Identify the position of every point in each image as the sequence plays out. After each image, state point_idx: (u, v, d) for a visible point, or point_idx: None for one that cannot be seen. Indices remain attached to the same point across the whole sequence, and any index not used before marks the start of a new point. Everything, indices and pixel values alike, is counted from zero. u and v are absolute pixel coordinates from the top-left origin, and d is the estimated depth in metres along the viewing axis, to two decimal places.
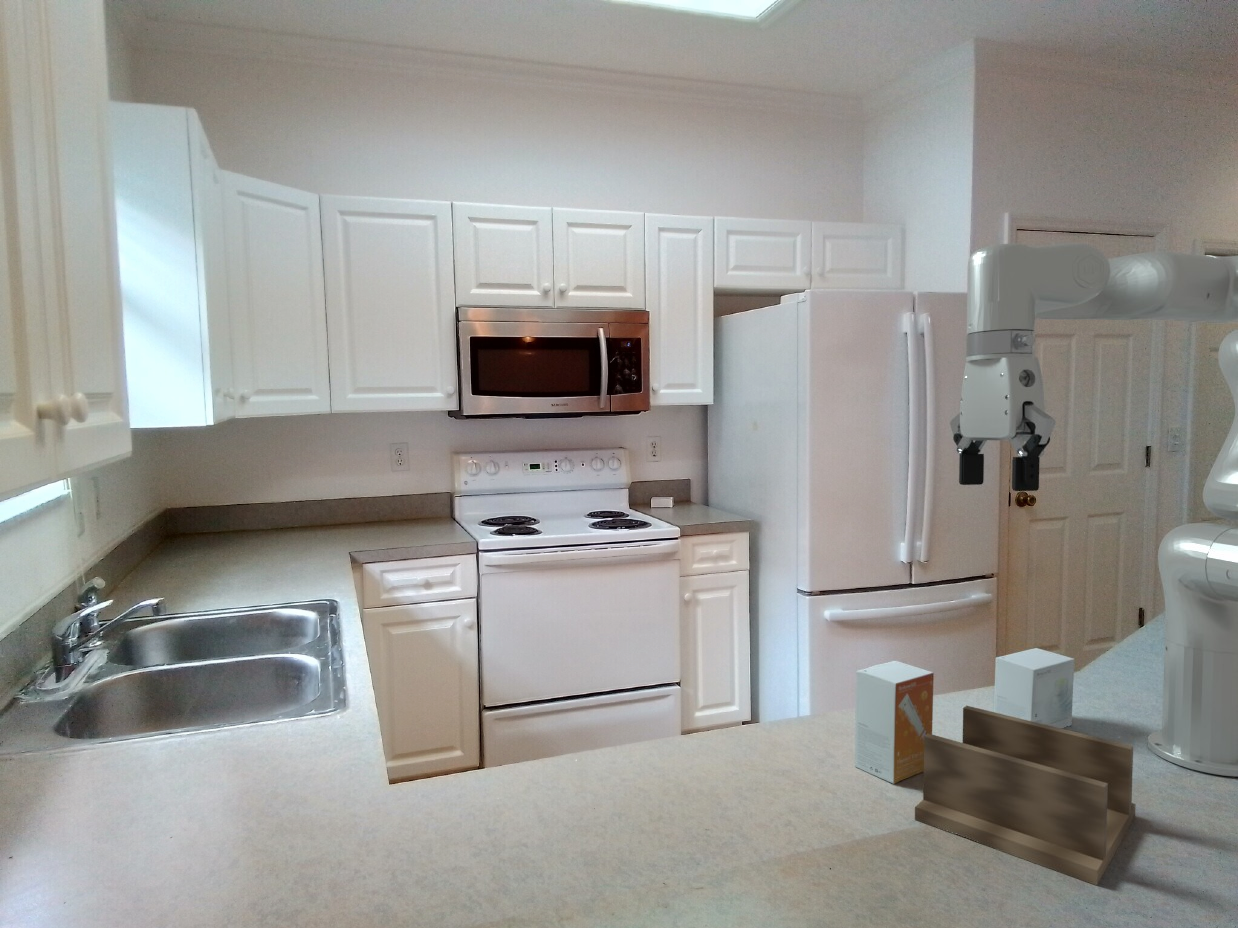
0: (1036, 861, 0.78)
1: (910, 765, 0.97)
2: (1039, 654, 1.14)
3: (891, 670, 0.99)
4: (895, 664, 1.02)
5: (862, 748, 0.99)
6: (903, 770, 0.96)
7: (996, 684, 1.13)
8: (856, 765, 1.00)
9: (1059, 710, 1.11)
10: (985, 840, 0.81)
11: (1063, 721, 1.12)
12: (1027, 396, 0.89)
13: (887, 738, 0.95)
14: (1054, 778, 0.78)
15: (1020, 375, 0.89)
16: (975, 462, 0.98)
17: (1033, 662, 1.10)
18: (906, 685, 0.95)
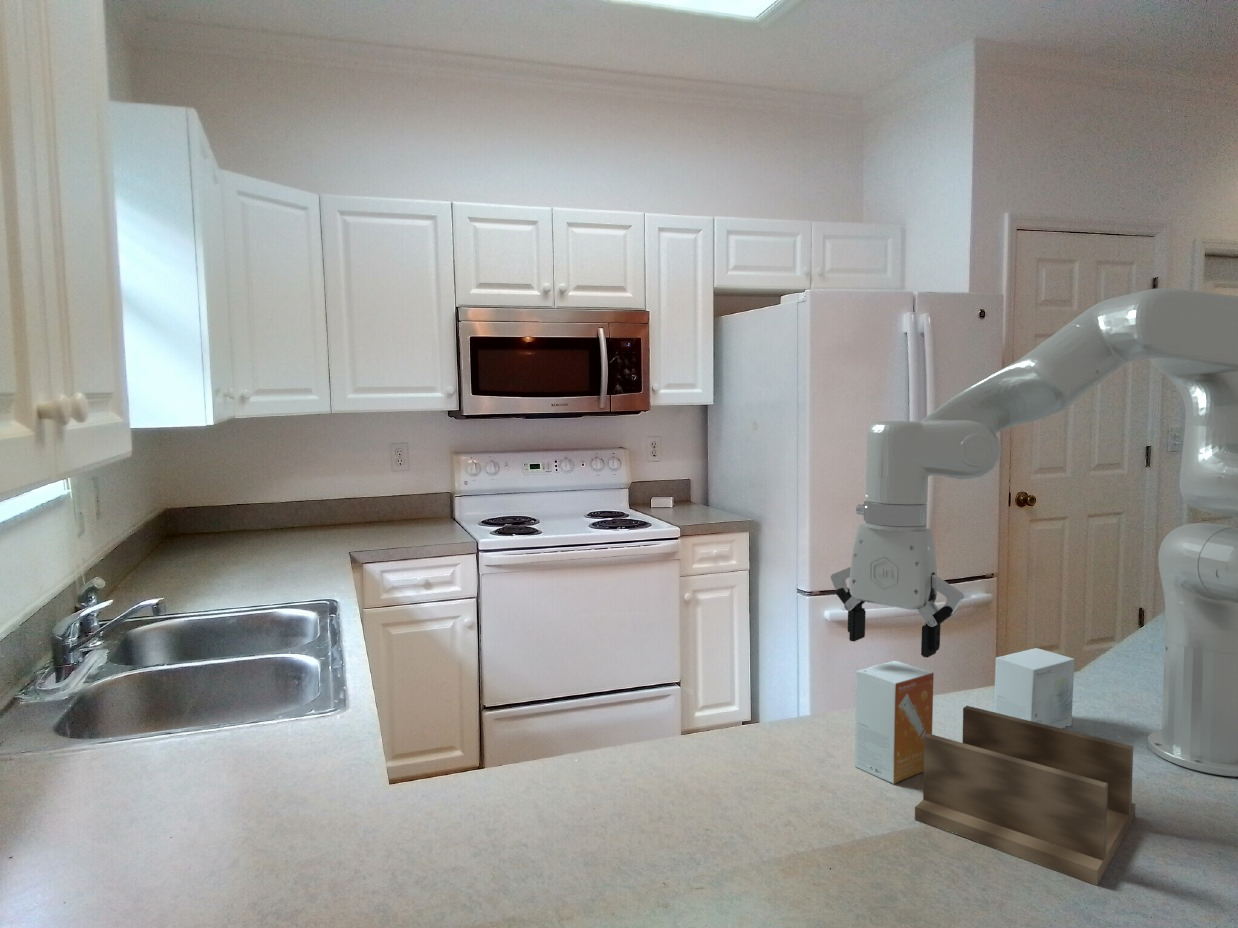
0: (1036, 861, 0.78)
1: (910, 765, 0.97)
2: (1039, 654, 1.14)
3: (891, 670, 0.99)
4: (895, 664, 1.02)
5: (862, 748, 0.99)
6: (903, 770, 0.96)
7: (996, 684, 1.13)
8: (856, 765, 1.00)
9: (1059, 710, 1.11)
10: (985, 840, 0.81)
11: (1063, 721, 1.12)
12: None
13: (887, 738, 0.95)
14: (1054, 778, 0.78)
15: None
16: None
17: (1033, 662, 1.10)
18: (906, 685, 0.95)
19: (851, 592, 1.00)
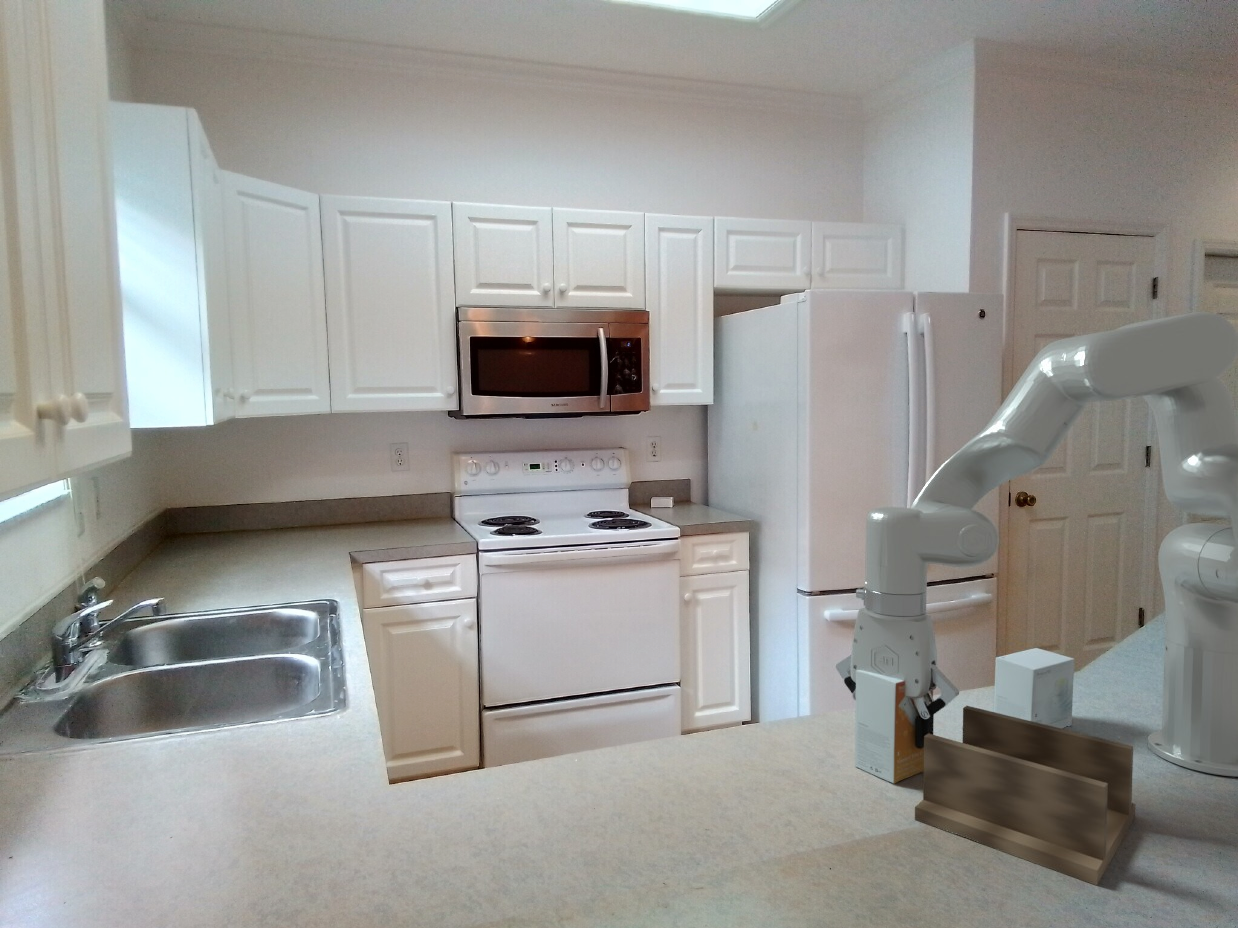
0: (1036, 861, 0.78)
1: (910, 765, 0.97)
2: (1039, 654, 1.14)
3: None
4: None
5: (862, 748, 0.99)
6: (903, 770, 0.96)
7: (996, 684, 1.13)
8: (856, 765, 1.00)
9: (1059, 710, 1.11)
10: (985, 840, 0.81)
11: (1063, 721, 1.12)
12: None
13: (887, 738, 0.95)
14: (1054, 778, 0.78)
15: None
16: None
17: (1033, 662, 1.10)
18: None
19: (852, 677, 1.00)
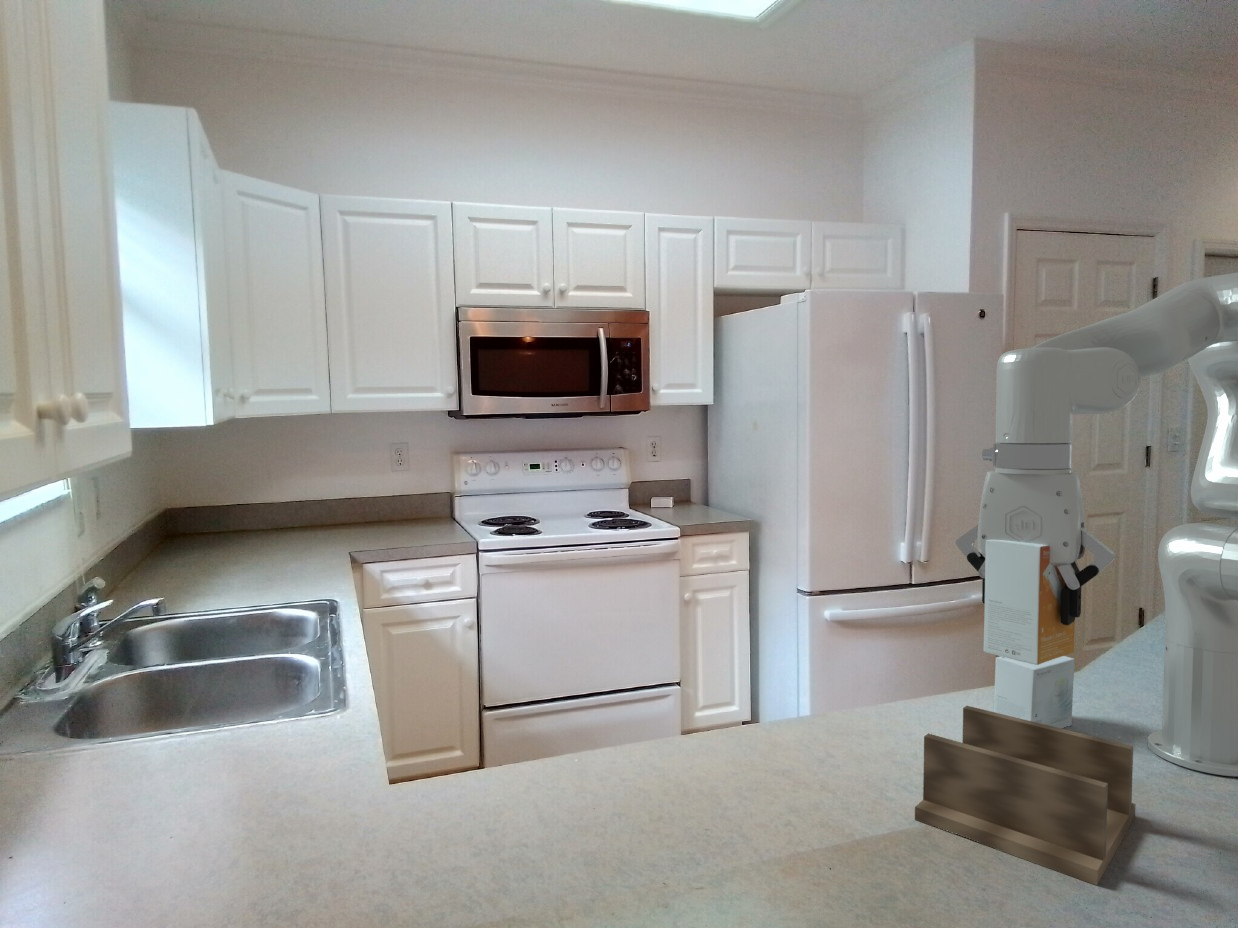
0: (1036, 861, 0.78)
1: (1054, 646, 0.83)
2: None
3: None
4: None
5: (994, 629, 0.85)
6: (1047, 650, 0.82)
7: (996, 684, 1.13)
8: (985, 650, 0.86)
9: (1059, 710, 1.11)
10: (985, 840, 0.81)
11: (1063, 721, 1.12)
12: None
13: (1029, 613, 0.82)
14: (1054, 778, 0.78)
15: None
16: None
17: None
18: None
19: (980, 549, 0.86)
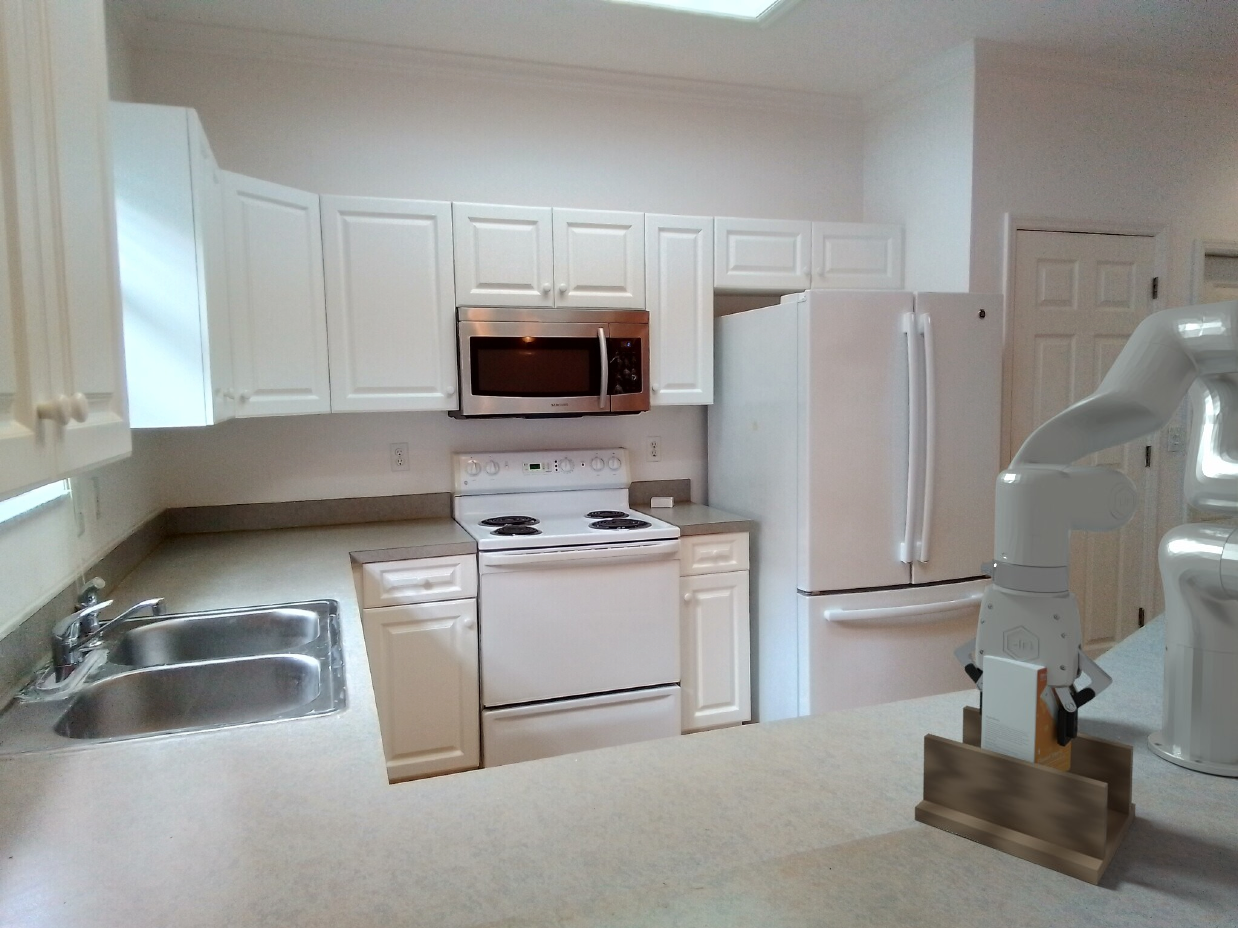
0: (1036, 861, 0.78)
1: (1050, 765, 0.83)
2: None
3: None
4: None
5: (991, 745, 0.85)
6: None
7: None
8: None
9: None
10: (985, 840, 0.81)
11: None
12: None
13: (1025, 734, 0.82)
14: (1054, 778, 0.78)
15: None
16: None
17: None
18: None
19: (978, 664, 0.87)
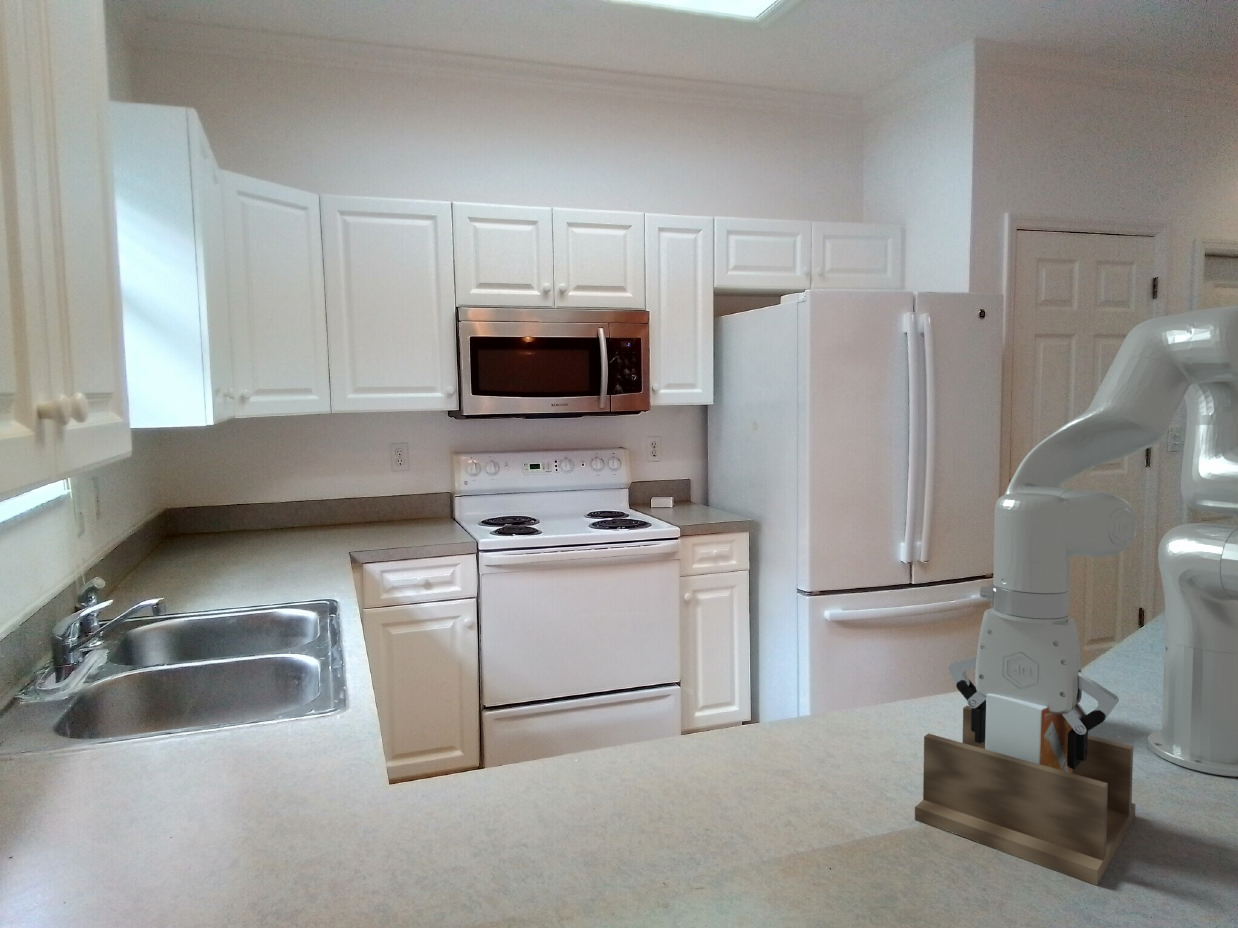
0: (1036, 861, 0.78)
1: None
2: None
3: None
4: None
5: None
6: None
7: None
8: None
9: None
10: (985, 840, 0.81)
11: None
12: None
13: None
14: (1054, 778, 0.78)
15: None
16: None
17: None
18: None
19: (978, 688, 0.87)
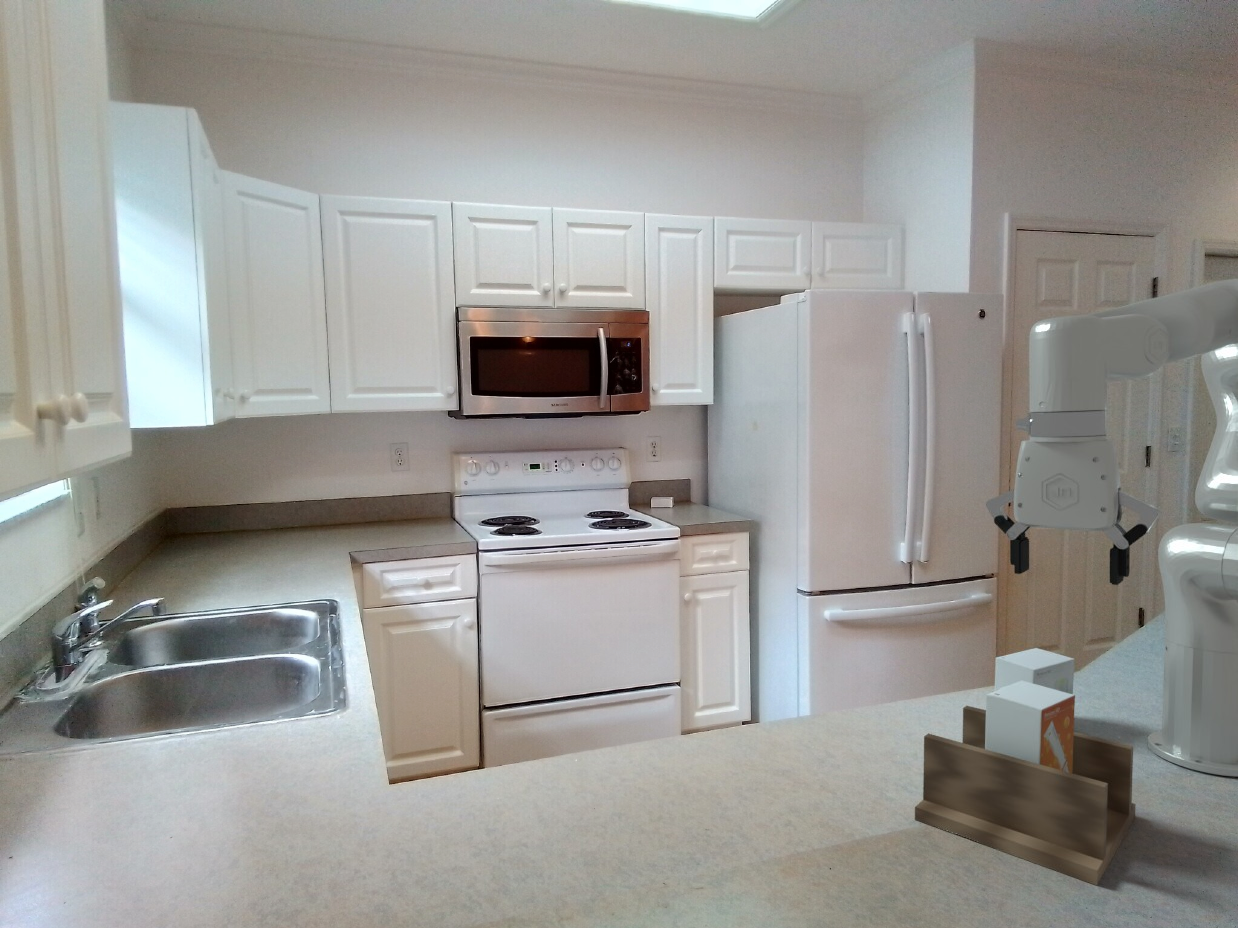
0: (1036, 861, 0.78)
1: None
2: (1039, 654, 1.14)
3: (1026, 692, 0.86)
4: (1026, 685, 0.89)
5: None
6: None
7: (996, 684, 1.13)
8: None
9: None
10: (985, 840, 0.81)
11: None
12: None
13: None
14: (1054, 778, 0.78)
15: None
16: None
17: (1033, 662, 1.10)
18: (1051, 712, 0.82)
19: (1017, 518, 0.88)
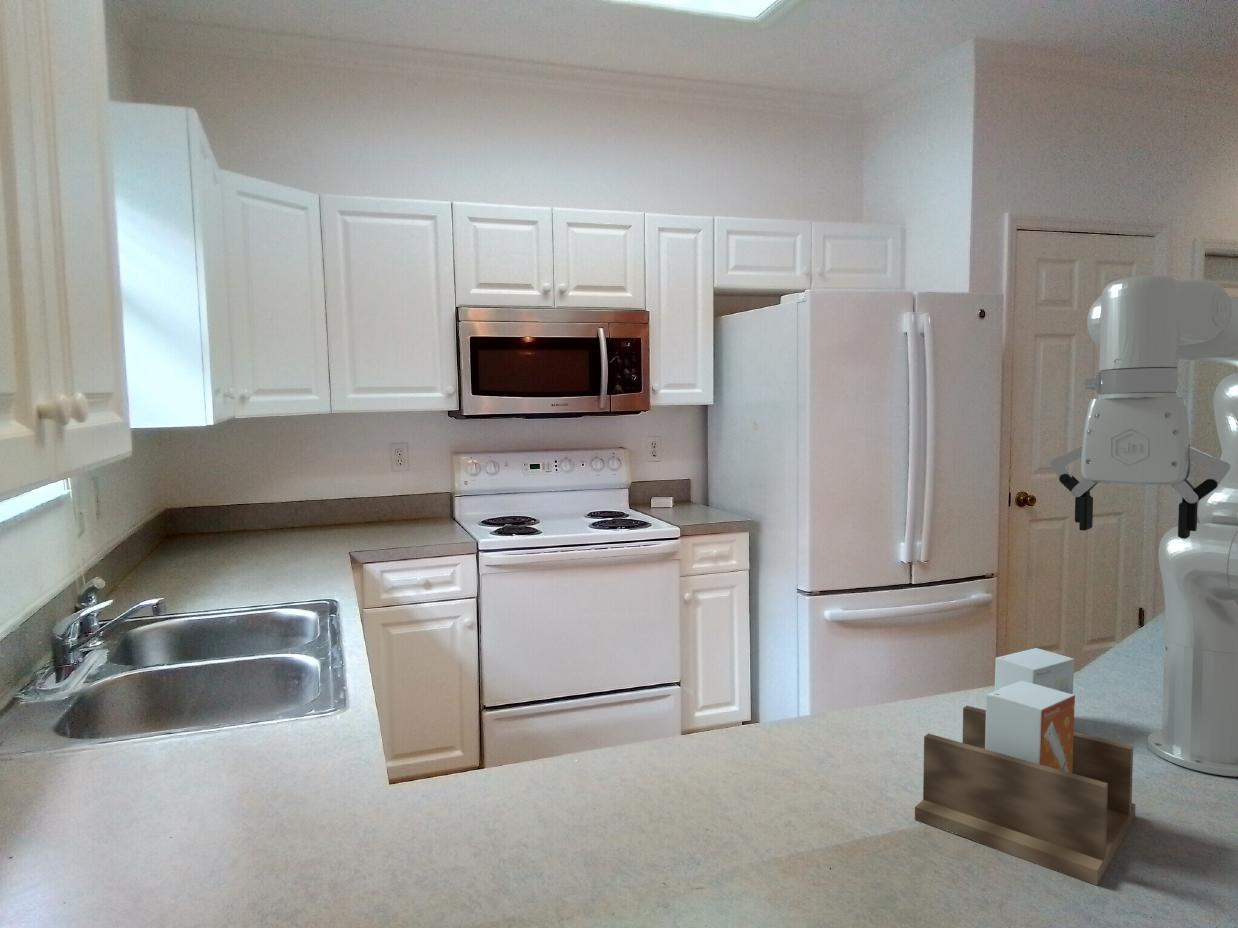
0: (1036, 861, 0.78)
1: None
2: (1039, 654, 1.14)
3: (1026, 692, 0.86)
4: (1026, 685, 0.89)
5: None
6: None
7: (996, 684, 1.13)
8: None
9: None
10: (985, 840, 0.81)
11: None
12: None
13: None
14: (1054, 778, 0.78)
15: None
16: None
17: (1032, 662, 1.10)
18: (1051, 712, 0.82)
19: (1084, 474, 0.89)
